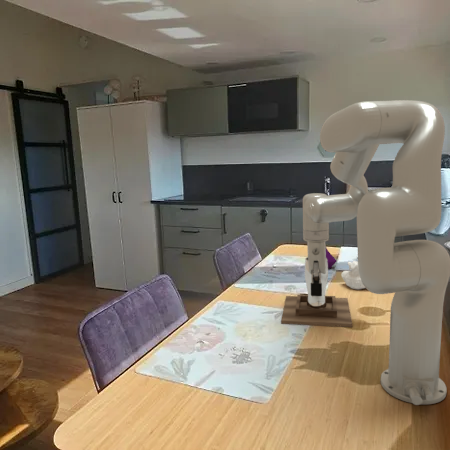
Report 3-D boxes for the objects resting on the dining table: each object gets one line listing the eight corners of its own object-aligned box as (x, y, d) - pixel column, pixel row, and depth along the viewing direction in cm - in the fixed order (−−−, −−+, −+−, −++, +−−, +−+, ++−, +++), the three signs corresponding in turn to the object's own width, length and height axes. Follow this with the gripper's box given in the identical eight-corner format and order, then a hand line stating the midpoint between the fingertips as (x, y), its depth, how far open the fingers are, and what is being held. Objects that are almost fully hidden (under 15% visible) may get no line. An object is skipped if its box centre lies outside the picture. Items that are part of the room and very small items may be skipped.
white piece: (328, 310, 122) (328, 261, 119) (305, 309, 123) (304, 261, 120) (327, 301, 128) (327, 255, 126) (305, 301, 130) (304, 255, 127)
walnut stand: (352, 327, 115) (352, 317, 114) (281, 323, 119) (280, 313, 118) (347, 300, 134) (347, 292, 133) (286, 298, 138) (286, 290, 138)
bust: (340, 290, 149) (332, 272, 143) (347, 274, 153) (339, 255, 146) (372, 297, 142) (365, 278, 135) (379, 279, 145) (372, 260, 139)
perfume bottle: (311, 267, 172) (310, 225, 169) (325, 264, 176) (325, 223, 172) (322, 271, 166) (322, 228, 162) (336, 268, 169) (337, 226, 165)
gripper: (329, 241, 113) (329, 302, 116) (328, 229, 129) (328, 282, 132) (302, 241, 114) (303, 301, 117) (304, 229, 131) (304, 282, 134)
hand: (316, 291), depth 125 cm, fingers closed on white piece, 6 cm apart
